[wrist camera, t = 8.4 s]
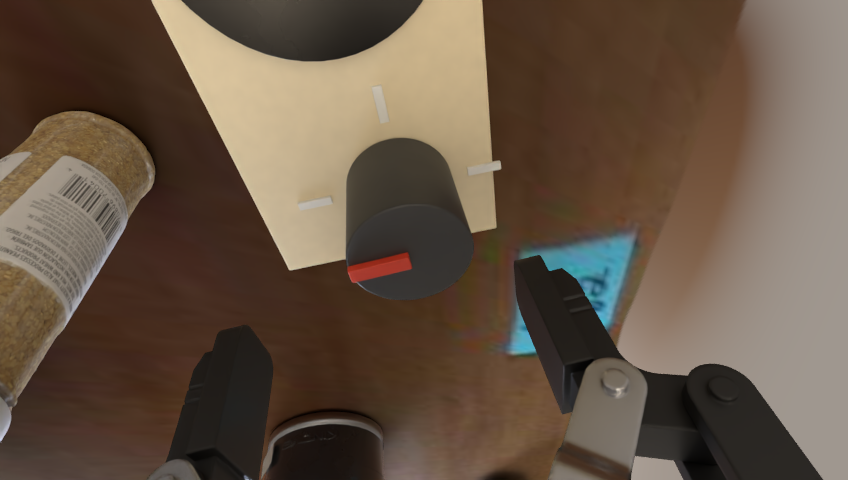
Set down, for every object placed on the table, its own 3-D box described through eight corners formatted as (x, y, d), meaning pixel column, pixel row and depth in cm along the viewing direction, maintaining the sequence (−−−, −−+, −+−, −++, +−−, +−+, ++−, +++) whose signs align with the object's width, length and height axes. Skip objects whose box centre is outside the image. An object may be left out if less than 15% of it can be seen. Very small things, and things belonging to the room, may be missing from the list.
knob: (441, 125, 17) (467, 195, 13) (458, 213, 20) (482, 291, 16) (331, 152, 17) (326, 229, 13) (363, 236, 20) (367, 318, 16)
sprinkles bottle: (15, 105, 17) (-458, 445, 7) (141, 109, 18) (-128, 421, 8) (65, 201, 20) (-219, 538, 10) (172, 200, 21) (6, 516, 11)
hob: (488, 203, 24) (504, 241, 21) (300, 242, 24) (294, 284, 21) (445, -382, 11) (470, -450, 9) (51, -298, 11) (-30, -342, 9)
